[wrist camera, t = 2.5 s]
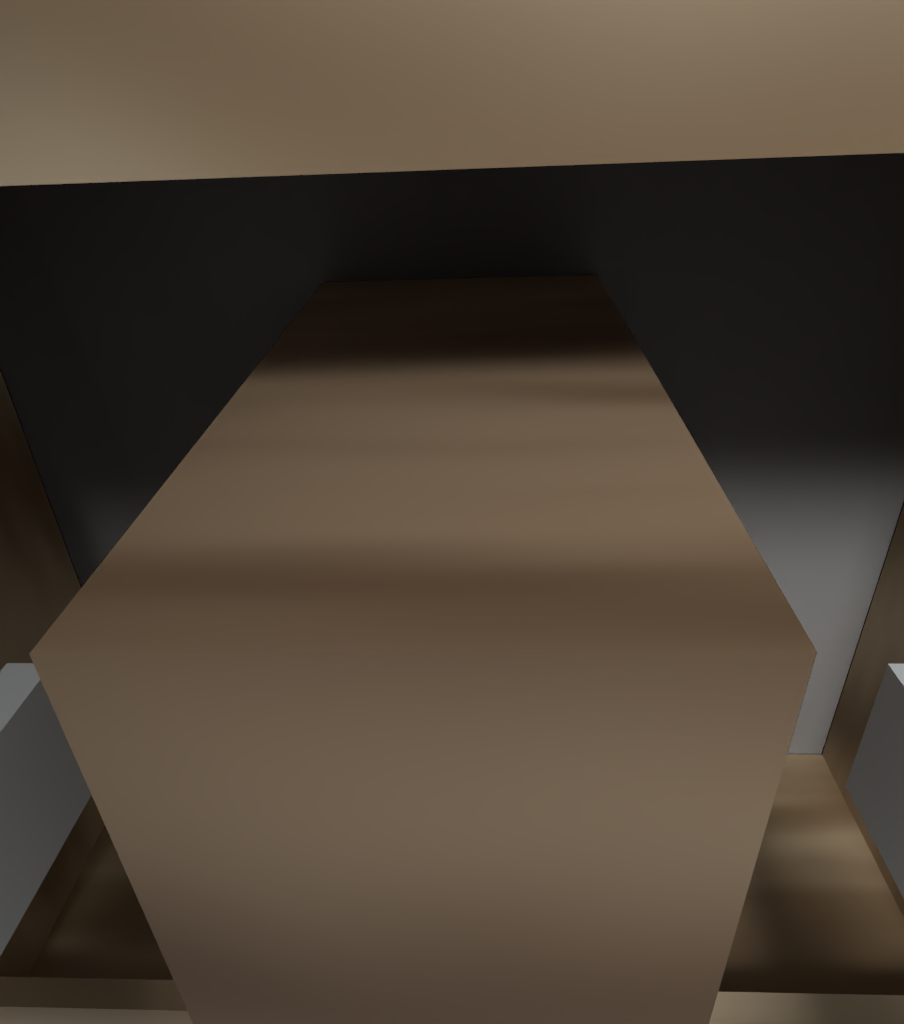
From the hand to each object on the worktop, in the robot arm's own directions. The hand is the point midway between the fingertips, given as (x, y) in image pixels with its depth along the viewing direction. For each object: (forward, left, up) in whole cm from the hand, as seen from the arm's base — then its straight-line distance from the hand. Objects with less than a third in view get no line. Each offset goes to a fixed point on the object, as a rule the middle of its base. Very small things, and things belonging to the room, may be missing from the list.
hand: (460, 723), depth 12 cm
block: (0, 0, -8) cm, 8 cm away
